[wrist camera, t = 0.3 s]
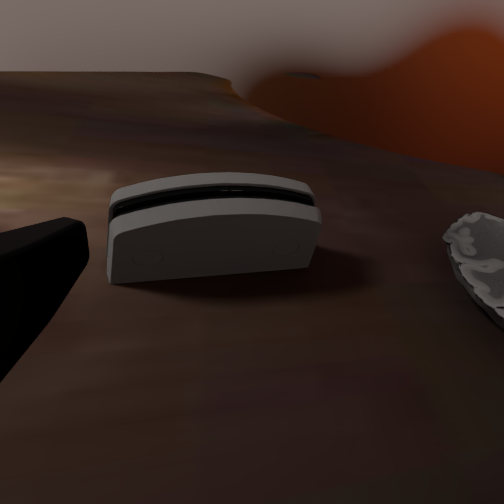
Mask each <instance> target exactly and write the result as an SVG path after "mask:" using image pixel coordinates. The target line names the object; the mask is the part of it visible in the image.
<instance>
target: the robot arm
mask: <svg viewBox="0 0 504 504" xmlns="http://www.w3.org/2000/svg"><path fill="white" fill-rule="evenodd" d="M88 260H89V247H88V239H87V232H86V226H85V224H84V223H83V222H82V221H79V220H75V219H71V218H67V217H62V218H58V219H54V220H50V221H46V222H42V223H38V224H34V225H30V226H26V227H22V228H18V229H14V230H10V231H6V232H2V233H0V382H1V381H2V380H3V379H4V377H5V376H6V375H7V374H8V372H9V371H10V370H11V369H12V368H13V366H14V365H15V364H16V363H17V361H18V360H19V359H20V358H21V356H22V355H23V354H24V353H25V351H26V350H27V349H28V348H29V347H30V345H31V344H32V343H33V342H34V340H35V339H36V338H37V337H38V335H39V334H40V333H41V332H42V330H43V329H44V328H45V327H46V325H47V324H48V323H49V321H50V320H51V319H52V317H53V316H54V314H55V313H56V311H57V310H58V308H59V307H60V305H61V304H62V302H63V301H64V299H65V298H66V296H67V294H68V293H69V291H70V290H71V288H72V287H73V285H74V284H75V282H76V280H77V279H78V277H79V276H80V274H81V273H82V271H83V270H84V268H85V267H86V265H87V263H88Z"/></svg>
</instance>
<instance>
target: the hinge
mask: <svg viewBox="0 0 504 504" xmlns="http://www.w3.org/2000/svg"><path fill="white" fill-rule="evenodd" d="M315 201H316V198H315V195H314V194H313V192H312V191H311V189H310V188H309V186H308V185H307V184H305V183H303V182H299V181H295V180H291V179H287V178H282V177H276V176H271V175H262V174H252V173H231V172H224V173H201V174H189V175H181V176H174V177H167V178H161V179H156V180H151V181H147V182H142V183H138V184H134V185H130V186H127V187H123V188H120V189H118V190H116V191H115V192H114V193H113V195H112V198H111V202H110V207H109V217H108V235H107V253H106V258H107V276H108V279H109V282H110V284H119V283H131V282H143V281H155V280H167V279H179V278H191V277H203V276H215V275H227V274H238V273H250V272H262V271H274V270H286V269H298V268H308V267H309V264H310V261H311V258H312V255H313V252H314V249H315V246H316V243H317V240H318V237H319V234H320V231H321V228H322V221H321V212H320V210H319V209H318V208H316V207H314V205H315Z"/></svg>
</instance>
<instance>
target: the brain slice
mask: <svg viewBox="0 0 504 504" xmlns="http://www.w3.org/2000/svg"><path fill="white" fill-rule="evenodd" d="M442 236H443V240H444V242H445V243H447V244H448V246H447V253H448V256H449V259H450V261H451V264H452V266H453V271H454V274H455V276H456V278H457V280H458V281H459V282H460V283H461V284H462V285H463V286H464V287H465V288H466V290H467V291H468V293H469V294H470V296H471V297H472V298H473V299H474V301H475V302H476V303H477V304H478V305H479V306H480V307H481V308H483V309H484V310H485V311H486V312H487V313H488V314H489V316H490V317H491V318H492V319H493V320H494V322H495V323H496V324H497V325H499V326H500V327H501V328H503V329H504V220H503V219H500V218H498V217H495V216H492V215H489V214H486V213H481V212H473V213H470V214H466V215H464V216H462V217H460V218H458V219H457V220H456V222H455V223H453V224H452V225H451V226H450V227H449V228H448V229H447V230H446V231H445V234H443V235H442Z"/></svg>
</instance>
